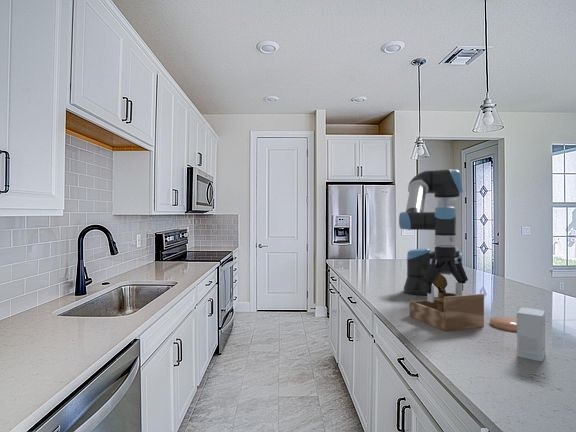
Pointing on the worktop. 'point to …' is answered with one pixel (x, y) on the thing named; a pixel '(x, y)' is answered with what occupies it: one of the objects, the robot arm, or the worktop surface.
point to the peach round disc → (504, 323)
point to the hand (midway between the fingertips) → (444, 300)
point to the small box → (531, 334)
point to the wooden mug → (441, 291)
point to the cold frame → (451, 312)
